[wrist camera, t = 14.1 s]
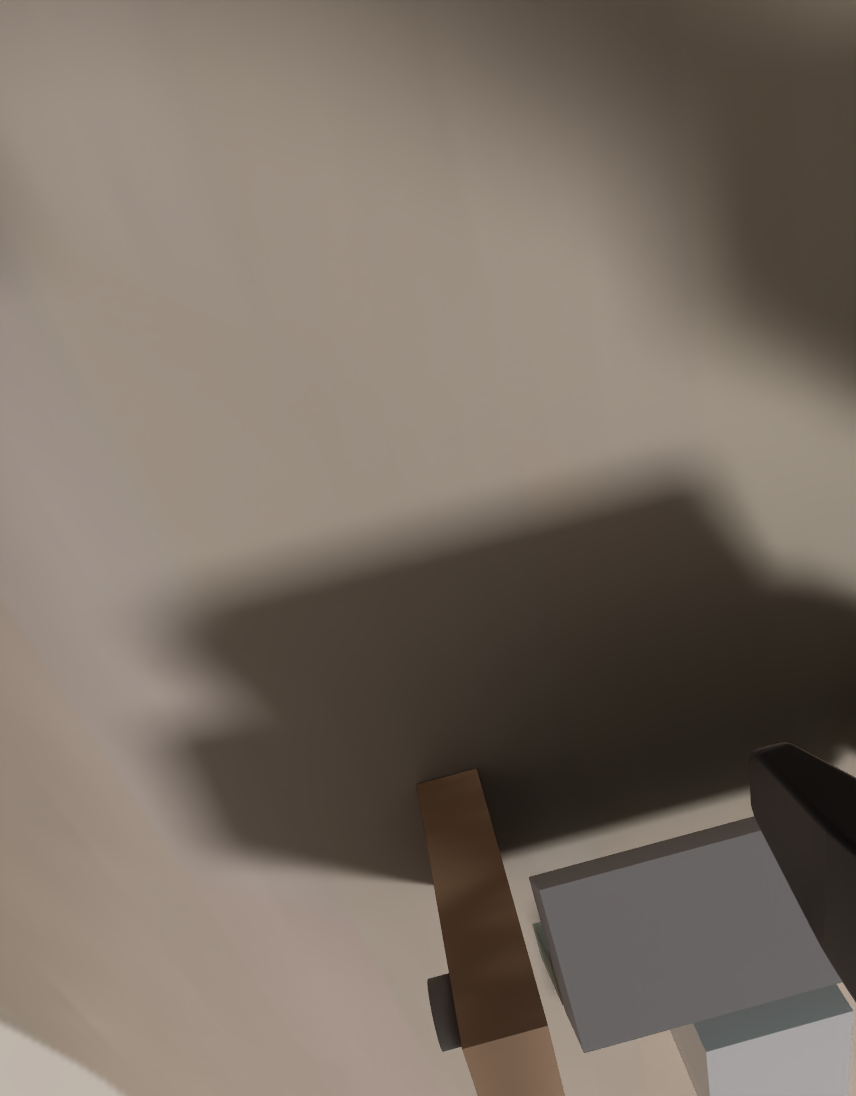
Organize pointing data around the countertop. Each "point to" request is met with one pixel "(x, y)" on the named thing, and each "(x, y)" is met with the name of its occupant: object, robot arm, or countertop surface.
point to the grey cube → (772, 1048)
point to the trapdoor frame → (482, 949)
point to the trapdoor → (674, 935)
